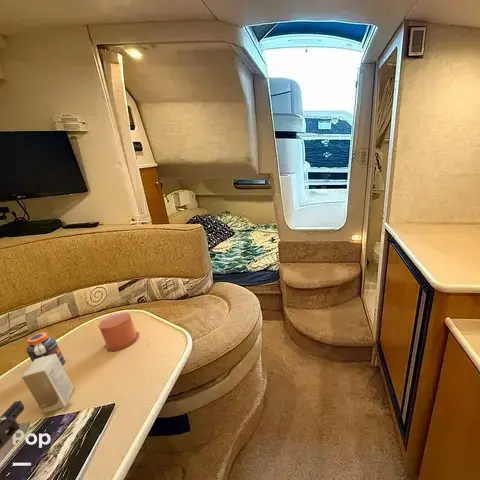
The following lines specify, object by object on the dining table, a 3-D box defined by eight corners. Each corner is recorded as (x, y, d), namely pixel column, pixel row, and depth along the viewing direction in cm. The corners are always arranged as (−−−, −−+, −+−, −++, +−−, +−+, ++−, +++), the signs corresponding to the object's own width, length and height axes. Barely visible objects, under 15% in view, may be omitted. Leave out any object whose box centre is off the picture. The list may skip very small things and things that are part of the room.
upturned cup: (99, 354, 84) (90, 331, 81) (114, 335, 93) (105, 314, 90) (132, 348, 86) (123, 326, 83) (143, 330, 94) (136, 309, 91)
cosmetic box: (54, 394, 71) (34, 358, 67) (74, 388, 72) (56, 352, 68) (42, 415, 65) (19, 377, 61) (64, 407, 67) (44, 370, 63)
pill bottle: (60, 371, 78) (44, 339, 75) (34, 378, 76) (16, 346, 72) (69, 357, 84) (54, 327, 80) (45, 363, 82) (28, 333, 78)
